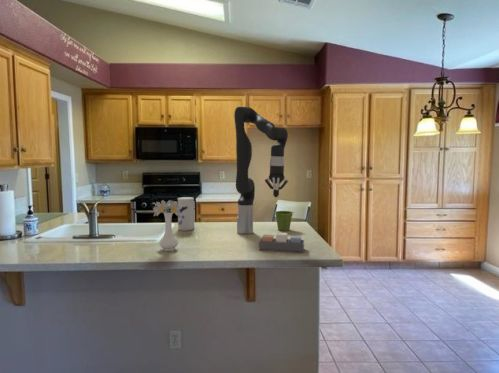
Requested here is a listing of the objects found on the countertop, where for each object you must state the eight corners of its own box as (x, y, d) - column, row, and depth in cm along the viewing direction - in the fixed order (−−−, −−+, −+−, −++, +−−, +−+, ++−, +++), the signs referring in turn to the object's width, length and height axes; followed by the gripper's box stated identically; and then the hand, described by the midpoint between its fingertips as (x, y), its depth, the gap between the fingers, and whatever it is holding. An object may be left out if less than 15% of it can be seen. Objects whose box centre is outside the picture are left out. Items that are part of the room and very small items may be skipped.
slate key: (290, 247, 178) (290, 238, 177) (291, 244, 183) (291, 235, 182) (300, 247, 177) (300, 238, 176) (301, 245, 182) (301, 236, 181)
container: (175, 230, 226) (174, 198, 224) (182, 227, 236) (182, 196, 234) (189, 231, 223) (189, 199, 221) (196, 228, 233) (196, 197, 231)
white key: (276, 243, 179) (276, 234, 179) (277, 241, 184) (277, 232, 184) (286, 244, 178) (286, 235, 178) (287, 241, 183) (287, 233, 183)
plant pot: (270, 229, 230) (271, 211, 229) (286, 227, 235) (287, 210, 234) (280, 232, 219) (280, 214, 218) (296, 231, 224) (297, 213, 223)
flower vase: (184, 244, 191) (183, 197, 189) (177, 254, 173) (176, 202, 170) (160, 244, 191) (159, 197, 189) (150, 254, 173) (149, 202, 170)
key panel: (259, 250, 180) (259, 241, 179) (261, 246, 187) (261, 237, 187) (303, 252, 175) (303, 243, 175) (304, 248, 183) (304, 239, 183)
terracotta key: (262, 245, 181) (262, 236, 180) (263, 243, 185) (263, 234, 185) (272, 246, 180) (272, 237, 179) (273, 243, 184) (273, 234, 184)
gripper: (290, 165, 195) (289, 196, 197) (266, 164, 198) (265, 195, 200) (288, 165, 188) (287, 198, 190) (263, 164, 191) (262, 197, 193)
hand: (275, 196), depth 195 cm, fingers closed
